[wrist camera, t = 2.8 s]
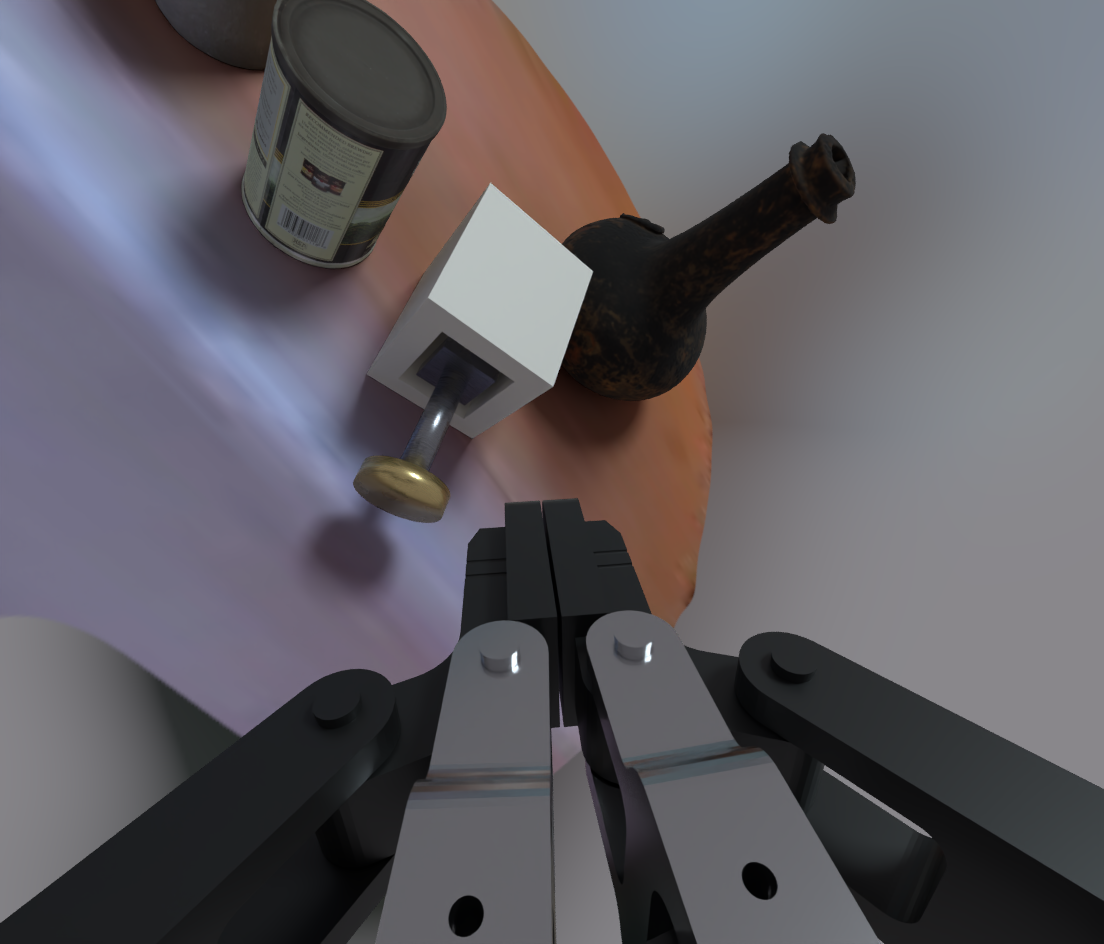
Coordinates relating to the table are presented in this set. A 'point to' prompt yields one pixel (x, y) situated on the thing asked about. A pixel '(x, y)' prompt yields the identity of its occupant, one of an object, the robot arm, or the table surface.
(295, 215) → the coffee can
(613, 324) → the antique onion bottle
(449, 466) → the table surface
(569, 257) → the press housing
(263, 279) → the table surface
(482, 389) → the plunger
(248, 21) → the pillar candle
